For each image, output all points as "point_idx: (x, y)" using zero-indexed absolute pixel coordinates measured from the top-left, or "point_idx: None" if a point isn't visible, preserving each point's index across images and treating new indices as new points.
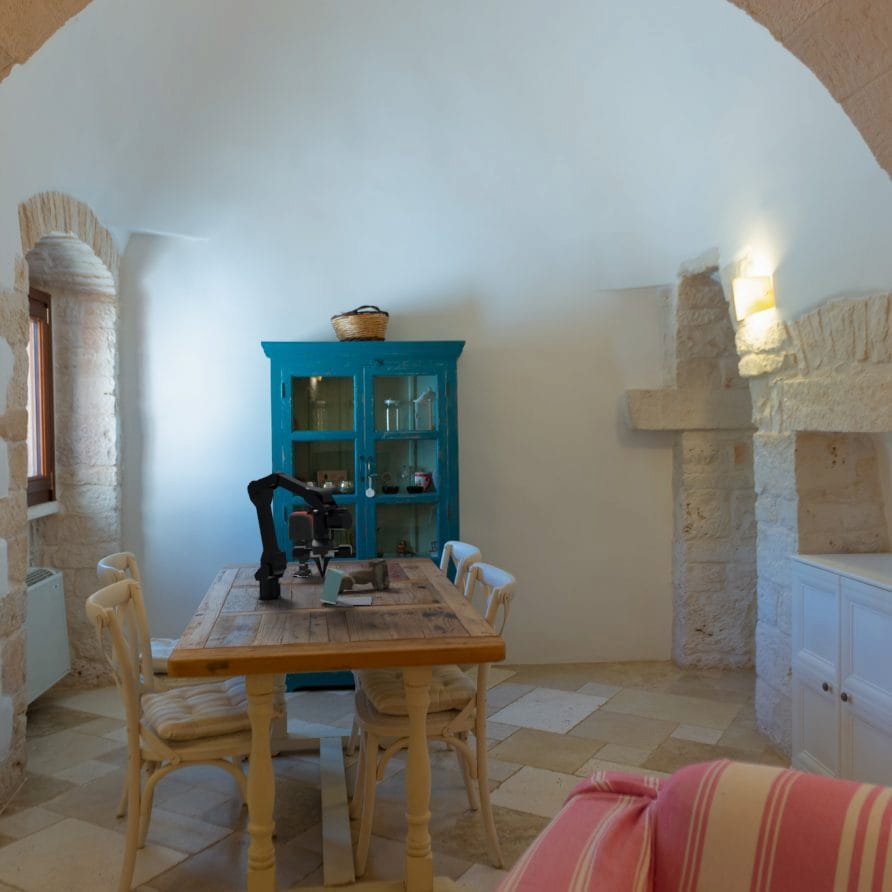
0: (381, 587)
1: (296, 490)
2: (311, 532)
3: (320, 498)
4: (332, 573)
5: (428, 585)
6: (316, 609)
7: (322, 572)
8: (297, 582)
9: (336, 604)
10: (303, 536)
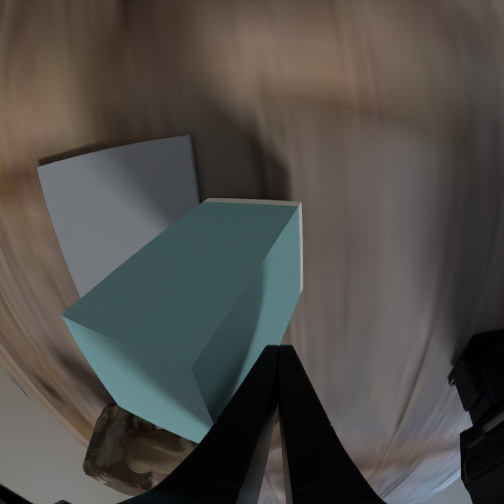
0: (117, 406)
1: None
2: None
3: None
4: (146, 333)
5: (49, 397)
6: (306, 66)
7: (278, 389)
8: (364, 471)
9: (191, 164)
10: None
